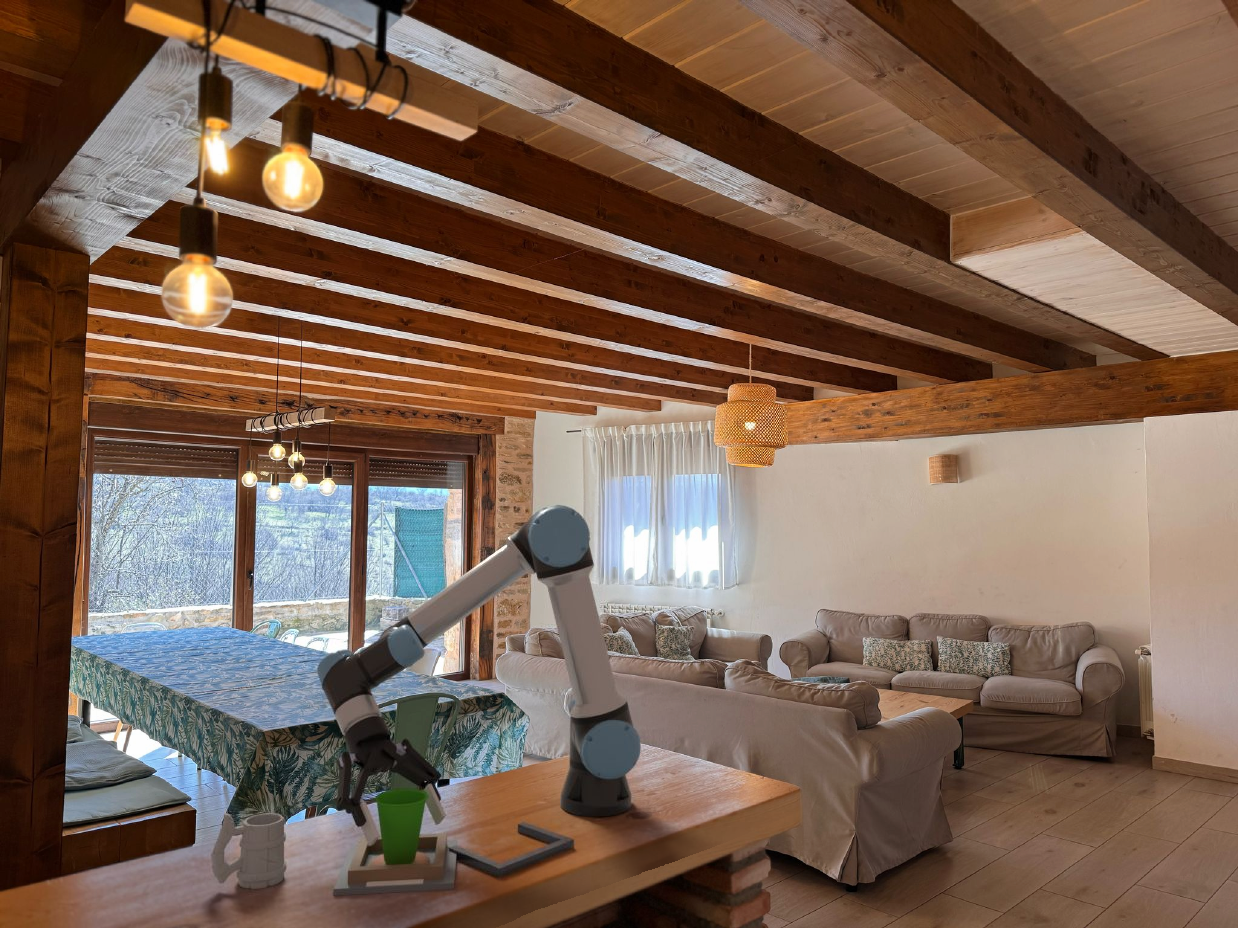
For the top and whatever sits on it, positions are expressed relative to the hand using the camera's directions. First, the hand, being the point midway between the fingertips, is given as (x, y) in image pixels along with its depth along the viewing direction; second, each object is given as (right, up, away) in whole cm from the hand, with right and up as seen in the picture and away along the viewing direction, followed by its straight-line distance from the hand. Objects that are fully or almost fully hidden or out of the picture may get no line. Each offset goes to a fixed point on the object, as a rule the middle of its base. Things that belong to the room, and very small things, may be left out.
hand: (409, 830), depth 146 cm
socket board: (-2, -7, +1) cm, 7 cm away
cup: (-2, -6, +1) cm, 6 cm away
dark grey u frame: (+17, -8, +9) cm, 21 cm away
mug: (-25, -6, -6) cm, 26 cm away
